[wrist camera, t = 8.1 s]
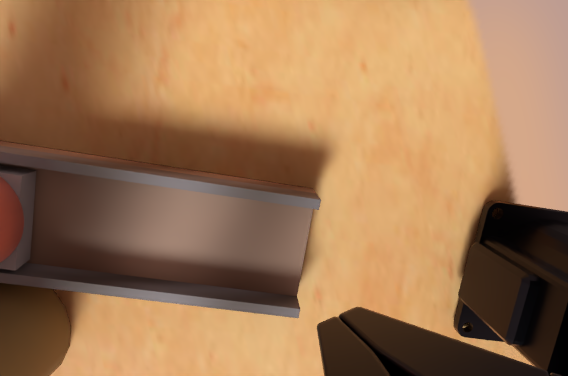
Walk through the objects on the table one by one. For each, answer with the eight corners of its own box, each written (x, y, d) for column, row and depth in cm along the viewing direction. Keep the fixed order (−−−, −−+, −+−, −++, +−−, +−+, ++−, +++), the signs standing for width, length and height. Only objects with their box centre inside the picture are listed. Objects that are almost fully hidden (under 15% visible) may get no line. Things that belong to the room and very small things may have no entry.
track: (313, 186, 20) (322, 198, 18) (292, 297, 21) (298, 322, 18) (-83, 125, 18) (-132, 130, 16) (-86, 250, 19) (-133, 271, 17)
